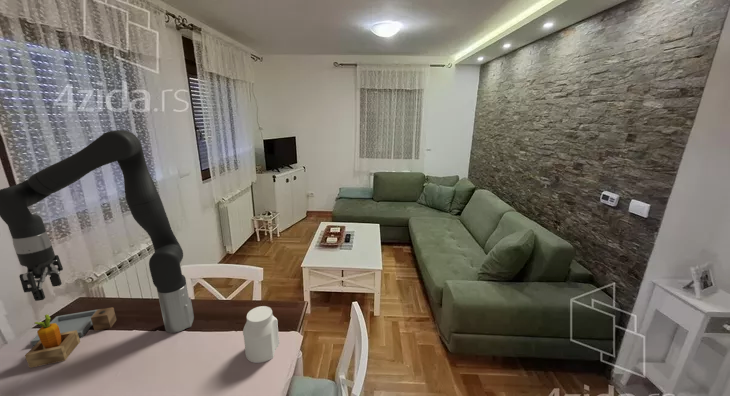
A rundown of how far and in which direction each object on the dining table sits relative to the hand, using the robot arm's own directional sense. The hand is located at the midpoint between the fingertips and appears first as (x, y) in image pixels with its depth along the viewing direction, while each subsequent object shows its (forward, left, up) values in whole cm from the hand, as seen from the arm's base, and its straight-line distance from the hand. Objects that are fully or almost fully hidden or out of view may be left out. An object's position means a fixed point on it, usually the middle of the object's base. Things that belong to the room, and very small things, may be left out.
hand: (49, 292), depth 94 cm
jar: (-65, +23, -23) cm, 73 cm away
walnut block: (-7, -10, -23) cm, 26 cm away
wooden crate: (+2, +2, -23) cm, 23 cm away
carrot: (+2, +2, -23) cm, 23 cm away
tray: (+5, -12, -23) cm, 26 cm away
